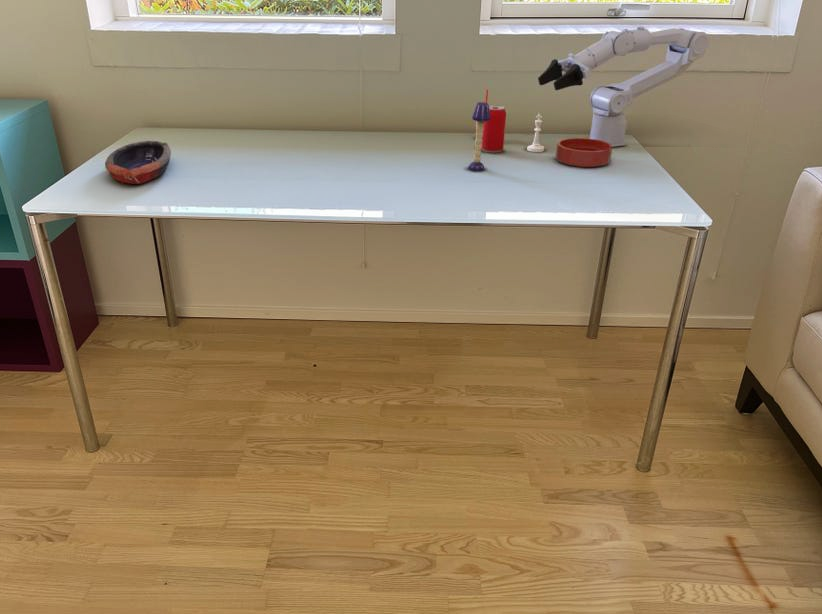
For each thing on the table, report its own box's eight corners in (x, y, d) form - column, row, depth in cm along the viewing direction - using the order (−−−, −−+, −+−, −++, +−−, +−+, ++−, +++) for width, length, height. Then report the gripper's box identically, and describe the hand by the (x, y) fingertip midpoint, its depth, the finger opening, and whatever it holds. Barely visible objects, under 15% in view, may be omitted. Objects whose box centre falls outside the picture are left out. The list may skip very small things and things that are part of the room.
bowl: (577, 151, 206) (579, 135, 203) (620, 162, 196) (622, 145, 194) (544, 160, 198) (546, 143, 196) (587, 171, 189) (589, 154, 186)
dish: (181, 155, 201) (179, 137, 199) (159, 189, 175) (156, 169, 172) (124, 156, 200) (121, 137, 198) (93, 191, 174) (89, 170, 171)
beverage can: (502, 148, 208) (506, 104, 202) (503, 154, 203) (507, 109, 197) (480, 147, 209) (483, 104, 203) (481, 153, 204) (484, 109, 197)
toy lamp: (474, 165, 193) (478, 100, 185) (489, 168, 191) (494, 102, 182) (465, 169, 190) (469, 103, 181) (480, 172, 188) (485, 105, 179)
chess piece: (524, 147, 209) (528, 111, 204) (541, 147, 209) (545, 111, 204) (529, 152, 205) (533, 115, 200) (546, 151, 205) (550, 115, 200)
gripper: (569, 41, 201) (529, 66, 200) (601, 49, 189) (558, 74, 188) (575, 66, 205) (535, 89, 204) (607, 74, 193) (564, 99, 192)
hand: (546, 84), depth 196 cm, fingers open, 7 cm apart
